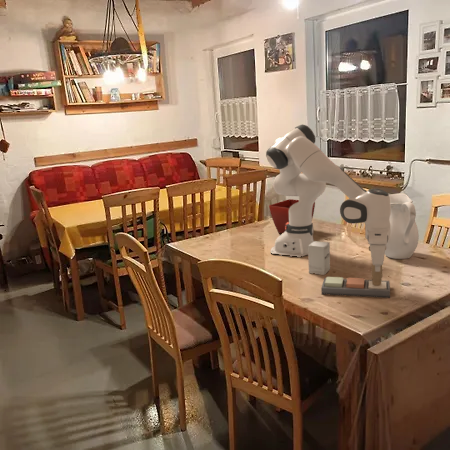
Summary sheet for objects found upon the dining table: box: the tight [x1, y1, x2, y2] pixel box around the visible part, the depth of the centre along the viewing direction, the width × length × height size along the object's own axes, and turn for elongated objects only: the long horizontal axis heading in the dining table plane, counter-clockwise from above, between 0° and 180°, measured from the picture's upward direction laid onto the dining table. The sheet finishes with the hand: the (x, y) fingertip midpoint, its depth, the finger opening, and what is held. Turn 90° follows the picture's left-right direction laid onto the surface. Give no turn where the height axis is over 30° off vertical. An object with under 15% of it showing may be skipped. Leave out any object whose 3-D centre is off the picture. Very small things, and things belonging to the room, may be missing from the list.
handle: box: [368, 245, 386, 286], centre depth 173 cm, size 5×6×15 cm
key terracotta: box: [346, 277, 365, 288], centre depth 177 cm, size 6×6×2 cm
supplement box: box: [307, 240, 331, 276], centre depth 200 cm, size 7×7×13 cm
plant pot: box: [268, 198, 316, 234], centre depth 262 cm, size 19×19×17 cm
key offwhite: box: [368, 280, 387, 289], centre depth 175 cm, size 6×6×2 cm
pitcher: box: [384, 192, 420, 260], centre depth 206 cm, size 24×17×28 cm
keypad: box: [320, 277, 391, 299], centre depth 178 cm, size 25×10×3 cm, turn 72°
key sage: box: [325, 276, 344, 287], centre depth 180 cm, size 6×6×2 cm
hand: (377, 268), depth 173 cm, fingers closed on handle, 4 cm apart
